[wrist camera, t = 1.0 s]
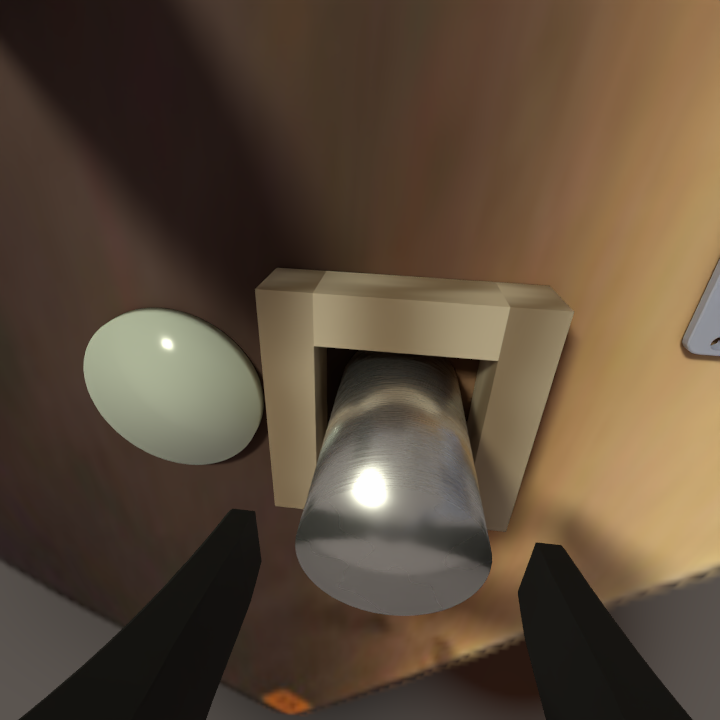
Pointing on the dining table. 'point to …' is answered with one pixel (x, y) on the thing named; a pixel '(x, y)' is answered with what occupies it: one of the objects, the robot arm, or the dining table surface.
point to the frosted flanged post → (396, 491)
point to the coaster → (174, 385)
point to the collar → (410, 336)
